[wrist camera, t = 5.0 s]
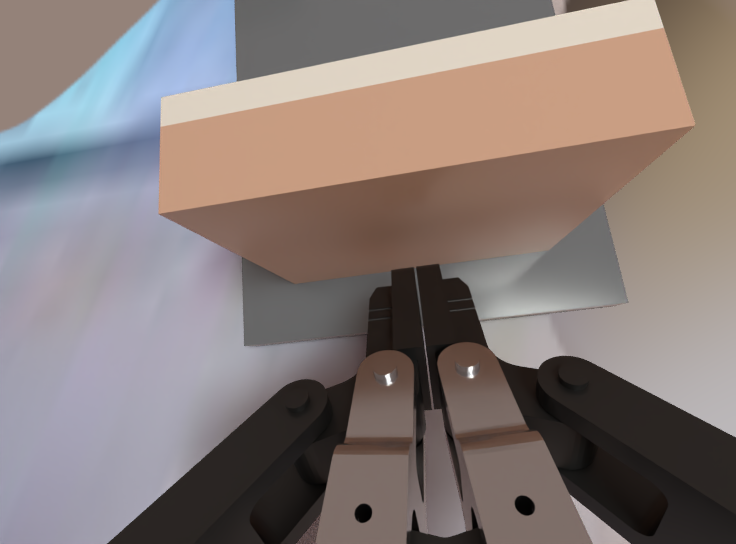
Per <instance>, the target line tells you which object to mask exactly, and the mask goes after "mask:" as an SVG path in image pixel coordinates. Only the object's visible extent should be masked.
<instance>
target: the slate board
mask: <svg viewBox="0 0 736 544" xmlns="http://www.w3.org/2000/svg"><path fill="white" fill-rule="evenodd" d="M551 16H555V12H554V8H553V4H552V1H551V0H235V32H236V67H237V82H238V81H243V80H248V79H253V78H258V77H262V76H267V75H272V74H277V73H282V72H286V71H291V70H296V69H301V68H306V67H311V66H315V65H320V64H325V63H330V62H335V61H339V60H344V59H349V58H354V57H359V56H363V55H368V54H373V53H378V52H383V51H388V50H392V49H397V48H402V47H407V46H412V45H416V44H421V43H426V42H431V41H436V40H441V39H445V38H450V37H455V36H460V35H465V34H469V33H474V32H479V31H484V30H489V29H493V28H498V27H503V26H508V25H513V24H518V23H522V22H527V21H532V20H537V19H542V18H546V17H551ZM440 270H441V274H442V279H448V278H456V277H459V278H460V279H461V280H462V281H463V282H464V283H465V284H467V285H468V286H469V290H470V293H471V296H472V300H473V302H474V305H475V309H476V312H477V315H478V318H479V321H487V320H496V319H504V318H513V317H522V316H531V315H540V314H549V313H557V312H567V311H576V310H585V309H594V308H603V307H611V306H617V305H621V304H625V303H628V299H627V295H626V291H625V287H624V283H623V279H622V275H621V271H620V267H619V263H618V259H617V256H616V252H615V248H614V244H613V240H612V236H611V232H610V228H609V225H608V220H607V216H606V212H605V208H604V205H602V206H600V207H599V208H598V209H597V210H596V211H594V212H593V213H592V214H591V215H590V216H589V217H587V218H586V219H585V220H584V221H583V222H582V223H580V224H579V225H578V226H577V227H576V228H575V229H573V230H572V231H571V232H570V233H569V234H567V235H566V236H565V237H564V238H563V239H562V240H560V241H559V242H558V243H557V244H556V245H555V246H553V247H552V248H551V249H550V250H548V251H540V252H533V253H525V254H518V255H510V256H503V257H495V258H487V259H480V260H472V261H465V262H457V263H450V264H442V265H440ZM414 271H415V278H416V286H417V293H418V301H419V308H420V316H421V324H422V328H424V326H423V318H422V310H421V302H420V294H419V286H418V279H417V271H416V268H414ZM242 280H243V316H244V346H264V345H273V344H282V343H290V342H299V341H308V340H317V339H326V338H335V337H344V336H353V335H362V334H367V332H368V315H369V298H370V297H371V295H372V294H373V292H374V291H375V289H376V288H377V287H384V286H391V271H389V272H382V273H374V274H367V275H359V276H352V277H344V278H337V279H329V280H321V281H314V282H306V283H299V284H294V283H292V282H290V281H288V280H286V279H284V278H282V277H280V276H278V275H276V274H274V273H272V272H271V271H269V270H267V269H265V268H263V267H261V266H259V265H257V264H255V263H253V262H251V261H249V260H247V259H245V258H243V257H242Z"/></svg>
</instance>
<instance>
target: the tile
mask: <svg viewBox="0 0 736 544" xmlns="http://www.w3.org/2000/svg"><path fill="white" fill-rule="evenodd" d="M694 126H695V121H694V118H693V115H692V112H691V110H690V106H689V103H688V100H687V97H686V94H685V91H684V88H683V85H682V82H681V79H680V76H679V73H678V70H677V67H676V64H675V61H674V58H673V54H672V51H671V48H670V45H669V42H668V39H667V36H666V34H665V30H664V27H663V25H662V21H661V18H660V15H659V13H658V9H657V6H656V3H655V0H629V1H624V2H619V3H614V4H609V5H604V6H599V7H595V8H590V9H586V10H580V11H576V12H571V13H566V14H561V15H556V16H551V17H546V18H542V19H537V20H532V21H527V22H522V23H518V24H513V25H508V26H503V27H498V28H493V29H489V30H484V31H479V32H474V33H469V34H465V35H460V36H455V37H450V38H445V39H441V40H436V41H431V42H426V43H421V44H416V45H412V46H407V47H402V48H397V49H392V50H388V51H383V52H378V53H373V54H368V55H363V56H359V57H354V58H349V59H344V60H339V61H335V62H330V63H325V64H320V65H315V66H311V67H306V68H301V69H296V70H291V71H286V72H282V73H277V74H272V75H267V76H262V77H258V78H253V79H248V80H243V81H238V82H233V83H229V84H224V85H219V86H214V87H209V88H205V89H200V90H195V91H190V92H185V93H180V94H176V95H171V96H166V97H161V130H160V174H159V214H160V215H162V216H164V217H166V218H168V219H169V220H171V221H173V222H175V223H177V224H179V225H181V226H183V227H185V228H187V229H189V230H191V231H193V232H195V233H197V234H199V235H201V236H203V237H204V238H206V239H208V240H210V241H212V242H214V243H216V244H218V245H220V246H222V247H224V248H226V249H228V250H230V251H232V252H234V253H236V254H237V255H239V256H241V257H243V258H245V259H247V260H249V261H251V262H253V263H255V264H257V265H259V266H261V267H263V268H265V269H267V270H269V271H271V272H272V273H274V274H276V275H278V276H280V277H282V278H284V279H286V280H288V281H290V282H292V283H294V284H299V283H306V282H314V281H321V280H329V279H337V278H344V277H352V276H359V275H367V274H374V273H382V272H389V271H391V270H394V269H401V268H409V267H414V268H416V266H424V265H432V264H439V265H442V264H450V263H457V262H465V261H472V260H480V259H487V258H495V257H503V256H510V255H518V254H525V253H533V252H540V251H548V250H550V249H551V248H552V247H553V246H555V245H556V244H557V243H558V242H559V241H560V240H562V239H563V238H564V237H565V236H566V235H567V234H569V233H570V232H571V231H572V230H573V229H575V228H576V227H577V226H578V225H579V224H580V223H582V222H583V221H584V220H585V219H586V218H587V217H589V216H590V215H591V214H592V213H593V212H594V211H596V210H597V209H598V208H599V207H600V206H602V205H603V204H604V203H605V202H606V201H607V200H608V199H610V198H611V197H612V196H613V195H614V194H616V193H617V192H618V191H619V190H620V189H621V188H623V187H624V186H625V185H626V184H627V183H629V182H630V181H631V180H632V179H633V178H634V177H636V176H637V175H638V174H639V173H640V172H641V171H643V170H644V169H645V168H646V167H647V166H648V165H650V164H651V163H652V162H653V161H654V160H655V159H657V158H658V157H659V156H660V155H661V154H663V152H665V151H666V150H667V149H668V148H670V147H671V146H672V145H673V144H674V143H675V142H677V140H679V139H680V138H681V137H683V136H684V135H685V134H686V133H687V132H688V131H690V130H691V129H692V128H693V127H694Z"/></svg>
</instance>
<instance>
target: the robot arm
mask: <svg viewBox="0 0 736 544" xmlns="http://www.w3.org/2000/svg"><path fill="white" fill-rule="evenodd" d="M416 271H417V279H418V286H419V294H420V302H421V310H422V318H423V326H424V334H425V342H426V350H427V357H428V365H429V372H430V380H431V388H432V395H433V403H434V409H442V413H443V420H444V428H445V436H446V441H447V445H448V450H449V454H450V458H451V463H452V467H453V471H454V476H455V480H456V484H457V489H458V493H459V497H460V502H461V506H462V511H463V516H464V521H465V528H466V532H463V533H461V534H458V535H455V536H452V537H448V538H443V537H438V536H434V535H430V534H428V528H427V516H426V461H425V430H426V423H425V413H424V410H432V407H431V399H430V390H429V382H428V374H427V366H426V357H425V349H424V341H423V332H422V324H421V316H420V308H419V301H418V293H417V286H416V278H415V271H414V267H409V268H401V269H394V270H391V286H384V287H377V288H376V289H375V291H374V292H373V294H372V295H371V297H370V298H369V315H368V332H367V349H366V359H364V360H363V361H362V363H361V364H360V366H359V368H358V371H357V374H356V375H355V376H354V377H352V378H351V379H349V380H347V381H345V382H343V383H341V384H338V385H335V386H333V387H330V388H327V389H325V387H324V386H323V385H322V384H321V383H319V382H317V381H315V380H309V379H304V380H298V381H295V382H292V383H290V384H288V385H286V386H285V387H283V388H282V389H281V390H279V391H278V392H277V393H276V394H275V395H274V396H273V397H272V398H270V399H269V400H268V401H267V402H266V403H265V404H264V405H263V406H261V407H260V408H259V409H258V410H257V411H256V412H255V413H254V414H252V415H251V416H250V417H249V418H248V419H247V420H246V421H245V422H243V423H242V424H241V425H240V426H239V427H238V428H237V429H236V430H234V431H233V432H232V433H231V434H230V435H229V436H228V437H227V438H226V439H224V440H223V441H222V442H221V443H220V444H219V445H218V446H217V447H215V448H214V449H213V450H212V451H211V452H210V453H209V454H208V455H206V456H205V457H204V458H203V459H202V460H201V461H200V462H199V463H197V464H196V465H195V466H194V467H193V468H192V469H191V470H190V471H188V472H187V473H186V474H185V475H184V476H183V477H182V478H181V479H179V480H178V481H177V482H176V483H175V484H174V485H173V486H172V487H170V488H169V489H168V490H167V491H166V492H165V493H164V494H163V495H161V496H160V497H159V498H158V499H157V500H156V501H155V502H154V503H152V504H151V505H150V506H149V507H148V508H147V509H146V510H145V511H143V512H142V513H141V514H140V515H139V516H138V517H137V518H136V519H134V520H133V521H132V522H131V523H130V524H129V525H128V526H127V527H125V528H124V529H123V530H122V531H121V532H120V533H119V534H118V535H116V536H115V537H114V538H113V539H112V540H111V541H110V542H109V543H107V544H296V543H297V542H298V540H299V539H300V538H301V537H302V536H303V534H304V533H305V532H306V531H307V529H308V528H309V527H310V526H311V524H312V523H313V522H314V521H315V519H316V518H317V517H318V516H319V515H320V513H321V517H320V522H319V527H318V532H317V537H316V542H315V544H593V543H592V541H591V539H590V537H589V535H588V533H587V531H586V528H585V526H584V524H583V522H582V520H581V518H580V516H579V514H578V511H577V509H576V507H575V505H574V503H573V501H572V499H571V497H570V495H571V496H573V497H574V498H575V499H576V500H577V501H579V502H580V503H581V504H582V505H584V506H585V507H586V508H587V509H589V510H590V511H591V512H592V513H594V514H595V515H596V516H597V517H599V518H600V519H601V520H602V521H604V522H605V523H606V524H607V525H608V526H610V527H611V528H612V529H613V530H615V531H616V532H617V533H618V534H620V535H621V536H622V537H623V538H625V539H626V540H627V541H628V542H630V543H631V544H736V437H734V436H732V435H730V434H728V433H726V432H724V431H722V430H720V429H718V428H716V427H714V426H712V425H711V424H709V423H706V422H705V421H703V420H701V419H699V418H697V417H695V416H693V415H691V414H689V413H687V412H686V411H684V410H681V409H680V408H678V407H676V406H674V405H672V404H670V403H668V402H666V401H664V400H662V399H661V398H659V397H657V396H655V395H653V394H651V393H649V392H647V391H645V390H643V389H641V388H639V387H637V386H635V385H634V384H632V383H630V382H628V381H626V380H624V379H622V378H620V377H618V376H616V375H614V374H612V373H610V372H608V371H607V370H605V369H603V368H601V367H599V366H597V365H595V364H593V363H591V362H589V361H587V360H584V359H581V358H578V357H573V356H558V357H553V358H550V359H548V360H546V361H545V362H543V363H542V364H541V365H540V367H539V369H534V368H527V367H521V366H516V365H512V364H509V363H507V362H504V361H502V360H501V359H499V358H498V357H496V356H495V355H494V353H493V352H492V351H491V350H490V349H489V348H488V346H487V343H486V340H485V337H484V334H483V330H482V327H481V324H480V321H479V318H478V315H477V312H476V309H475V305H474V302H473V300H472V296H471V293H470V290H469V286H468V285H467V284H465V283H464V282H463V281H462V280H461V279H460V278H459V277H456V278H448V279H442V274H441V270H440V265H439V264H432V265H424V266H416ZM569 494H570V495H569Z"/></svg>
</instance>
